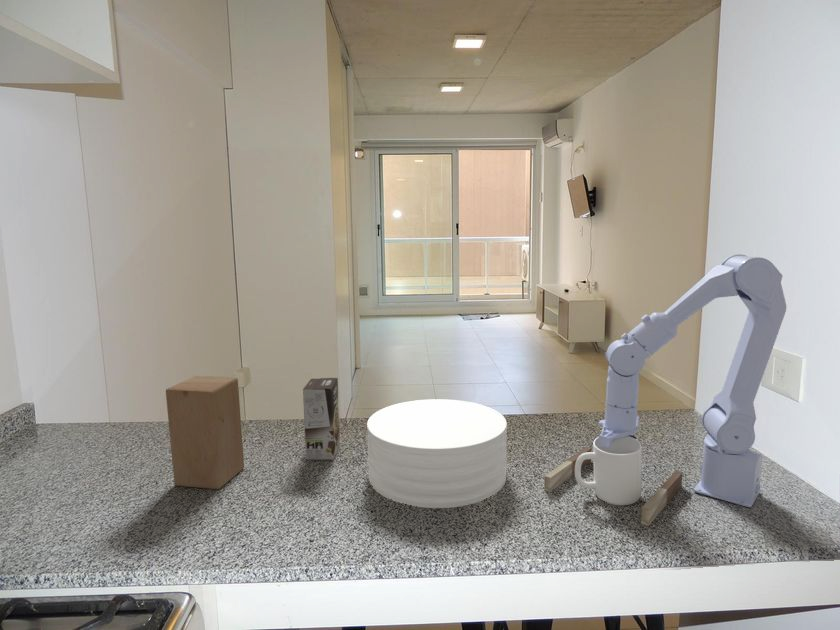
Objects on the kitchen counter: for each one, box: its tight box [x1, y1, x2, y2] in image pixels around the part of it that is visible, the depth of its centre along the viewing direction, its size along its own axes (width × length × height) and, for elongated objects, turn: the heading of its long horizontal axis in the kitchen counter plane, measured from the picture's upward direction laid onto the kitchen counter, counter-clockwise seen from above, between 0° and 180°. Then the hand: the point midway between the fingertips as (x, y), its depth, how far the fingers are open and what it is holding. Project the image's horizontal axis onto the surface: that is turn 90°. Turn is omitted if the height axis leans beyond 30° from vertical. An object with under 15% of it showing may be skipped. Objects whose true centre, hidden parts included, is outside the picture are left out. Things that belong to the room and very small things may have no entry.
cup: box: [574, 436, 643, 506], centre depth 102 cm, size 8×12×10 cm
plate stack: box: [366, 398, 508, 509], centre depth 113 cm, size 28×28×12 cm
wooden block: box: [165, 375, 245, 490], centre depth 112 cm, size 10×10×20 cm
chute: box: [543, 446, 684, 527], centre depth 105 cm, size 19×18×3 cm
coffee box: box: [302, 377, 341, 461], centre depth 124 cm, size 9×6×16 cm
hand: (617, 470), depth 107 cm, fingers closed, pressing on cup
